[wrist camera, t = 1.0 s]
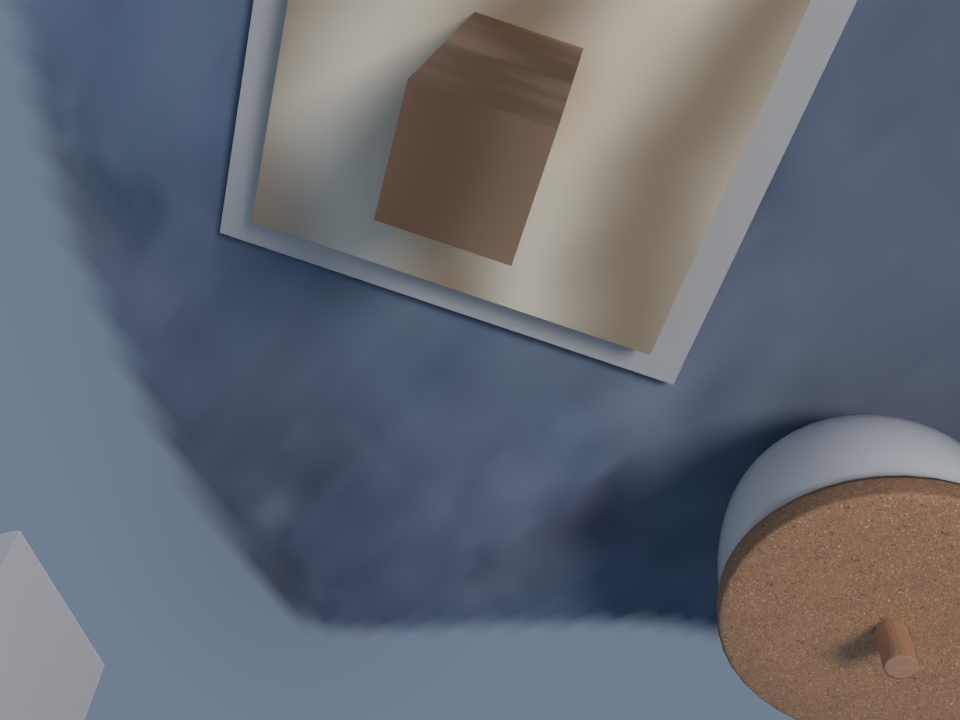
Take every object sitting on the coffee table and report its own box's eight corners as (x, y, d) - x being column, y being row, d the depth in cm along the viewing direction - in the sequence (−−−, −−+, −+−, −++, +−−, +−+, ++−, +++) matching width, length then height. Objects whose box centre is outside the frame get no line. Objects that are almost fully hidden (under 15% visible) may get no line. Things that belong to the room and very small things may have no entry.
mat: (917, -137, 26) (922, -136, 25) (672, 377, 35) (673, 384, 35) (309, -342, 26) (303, -345, 25) (225, 227, 35) (219, 232, 35)
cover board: (845, -95, 26) (941, -60, 17) (650, 339, 34) (649, 514, 25) (344, -264, 26) (190, -313, 17) (263, 209, 34) (128, 340, 25)
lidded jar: (1033, 536, 36) (1142, 738, 28) (770, 614, 40) (800, 810, 32) (939, 319, 32) (1034, 479, 24) (660, 429, 36) (662, 597, 28)
